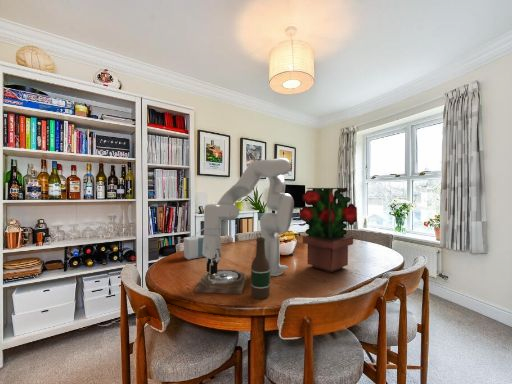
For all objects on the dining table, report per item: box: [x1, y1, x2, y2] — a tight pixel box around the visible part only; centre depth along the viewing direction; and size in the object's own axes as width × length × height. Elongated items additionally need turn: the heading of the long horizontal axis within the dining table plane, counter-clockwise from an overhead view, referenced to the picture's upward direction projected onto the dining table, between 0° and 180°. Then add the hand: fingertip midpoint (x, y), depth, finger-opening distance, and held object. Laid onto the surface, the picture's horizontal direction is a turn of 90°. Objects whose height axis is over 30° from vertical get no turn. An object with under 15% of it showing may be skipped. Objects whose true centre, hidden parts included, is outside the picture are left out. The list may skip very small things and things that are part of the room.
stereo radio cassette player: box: [183, 228, 206, 261], centre depth 158 cm, size 21×8×20 cm, turn 130°
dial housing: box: [194, 268, 248, 295], centre depth 113 cm, size 20×20×4 cm
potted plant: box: [299, 187, 358, 274], centre depth 136 cm, size 22×22×45 cm
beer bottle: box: [250, 236, 271, 300], centre depth 101 cm, size 8×8×24 cm
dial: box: [208, 263, 238, 283], centre depth 113 cm, size 14×14×9 cm
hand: (211, 272), depth 109 cm, fingers open, 3 cm apart
